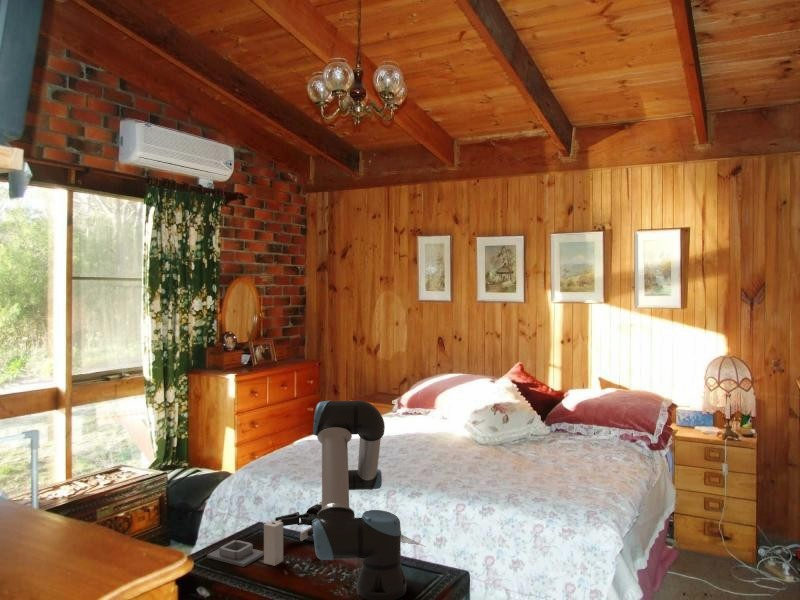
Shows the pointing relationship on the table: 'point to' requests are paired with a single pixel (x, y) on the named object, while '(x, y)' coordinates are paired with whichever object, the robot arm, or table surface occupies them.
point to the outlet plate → (236, 553)
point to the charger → (273, 542)
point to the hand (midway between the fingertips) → (284, 533)
